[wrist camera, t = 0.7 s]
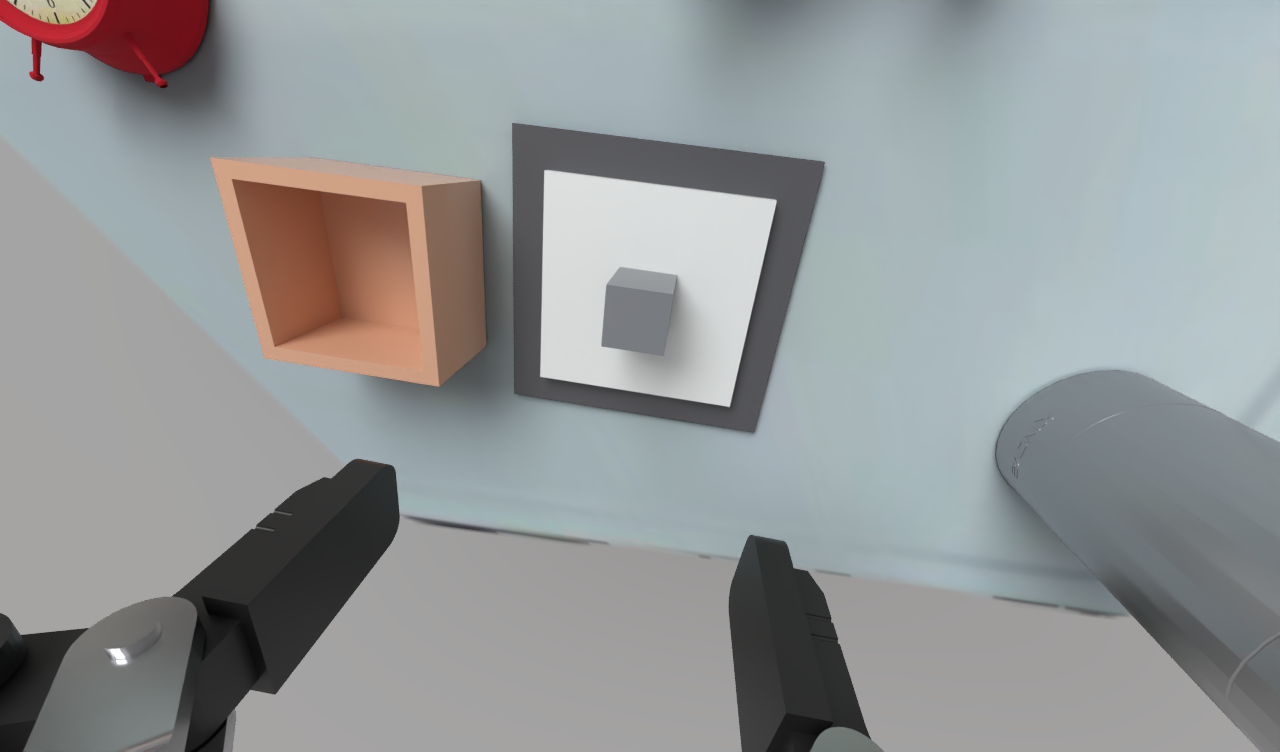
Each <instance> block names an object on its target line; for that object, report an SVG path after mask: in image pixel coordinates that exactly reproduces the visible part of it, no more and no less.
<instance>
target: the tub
mask: <svg viewBox="0 0 1280 752" xmlns="http://www.w3.org/2000/svg"><path fill="white" fill-rule="evenodd" d="M210 159H211V162H212V166H213V170H214V173H215V177H216V181H217V185H218V188H219V192H220V196H221V199H222V203H223V207H224V211H225V214H226V218H227V222H228V225H229V229H230V233H231V237H232V240H233V244H234V248H235V251H236V255H237V259H238V263H239V266H240V270H241V274H242V277H243V281H244V285H245V289H246V292H247V296H248V300H249V303H250V307H251V311H252V315H253V318H254V322H255V326H256V329H257V333H258V337H259V340H260V344H261V348H262V352H263V355H264V358H266V359H272V360H278V361H284V362H290V363H297V364H303V365H309V366H315V367H321V368H327V369H333V370H340V371H346V372H352V373H358V374H364V375H370V376H376V377H382V378H389V379H395V380H401V381H407V382H413V383H419V384H425V385H432V386H438V387H440V386H441V385H442V384H443V383H444V382H445V381H446V380H448V379H449V378H450V377H451V376H452V375H453V374H455V373H456V372H457V371H458V370H459V369H460V368H461V367H463V366H464V365H465V364H466V363H467V362H468V361H470V360H471V359H472V358H473V357H474V356H475V355H477V354H478V353H479V352H480V351H481V350H482V349H483V348H485V347H486V346H487V342H486V314H485V287H484V259H483V232H482V204H481V180H475V179H468V178H460V177H453V176H445V175H438V174H430V173H423V172H415V171H408V170H400V169H393V168H385V167H378V166H370V165H363V164H355V163H348V162H340V161H333V160H325V159H318V158H210Z"/></svg>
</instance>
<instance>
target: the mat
mask: <svg viewBox="0 0 1280 752" xmlns="http://www.w3.org/2000/svg"><path fill="white" fill-rule="evenodd" d="M512 148H513V274H514V394H520V395H526V396H532V397H538V398H544V399H550V400H557V401H563V402H569V403H575V404H581V405H587V406H594V407H600V408H606V409H612V410H618V411H624V412H631V413H637V414H643V415H649V416H655V417H661V418H668V419H674V420H680V421H686V422H692V423H698V424H705V425H711V426H717V427H723V428H729V429H735V430H742V431H748V432H754V430H755V426H756V422H757V418H758V414H759V411H760V407H761V403H762V399H763V395H764V392H765V388H766V384H767V380H768V376H769V373H770V369H771V365H772V361H773V357H774V354H775V350H776V346H777V342H778V338H779V335H780V331H781V327H782V323H783V319H784V316H785V312H786V308H787V304H788V300H789V297H790V293H791V289H792V285H793V281H794V278H795V274H796V270H797V266H798V262H799V259H800V255H801V251H802V247H803V243H804V240H805V236H806V232H807V228H808V224H809V221H810V217H811V213H812V209H813V205H814V202H815V198H816V194H817V190H818V186H819V183H820V179H821V175H822V171H823V167H824V164H825V162H822V161H814V160H805V159H797V158H789V157H781V156H773V155H765V154H757V153H749V152H741V151H733V150H725V149H717V148H709V147H701V146H693V145H685V144H677V143H669V142H661V141H653V140H645V139H637V138H629V137H621V136H613V135H605V134H597V133H589V132H581V131H573V130H565V129H557V128H549V127H541V126H533V125H525V124H516V123H512ZM544 170H553V171H561V172H568V173H576V174H584V175H591V176H599V177H607V178H614V179H622V180H630V181H637V182H645V183H653V184H660V185H668V186H676V187H683V188H691V189H699V190H706V191H714V192H722V193H729V194H737V195H745V196H752V197H760V198H768V199H775V200H777V203H776V207H775V211H774V216H773V220H772V224H771V229H770V233H769V238H768V242H767V246H766V251H765V255H764V259H763V264H762V268H761V272H760V277H759V281H758V286H757V290H756V294H755V299H754V303H753V307H752V312H751V316H750V320H749V325H748V329H747V334H746V338H745V342H744V347H743V351H742V355H741V360H740V364H739V368H738V373H737V377H736V382H735V386H734V390H733V395H732V399H731V403H730V407H727V406H721V405H714V404H708V403H702V402H696V401H689V400H683V399H677V398H670V397H664V396H658V395H652V394H645V393H639V392H633V391H627V390H620V389H614V388H608V387H601V386H595V385H589V384H583V383H576V382H570V381H564V380H557V379H551V378H545V377H540V363H541V312H542V262H543V211H544Z"/></svg>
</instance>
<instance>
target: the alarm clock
mask: <svg viewBox="0 0 1280 752" xmlns="http://www.w3.org/2000/svg"><path fill="white" fill-rule="evenodd" d="M208 7H209V0H0V20H1V21H2V22H4V23H5V24H7V25H8V26H10V27H11V28H13V29H15V30H17V31H18V32H20V33H22V34H24V35H27V36H29V37H32V54H33V71H32V72H30V73H29V75H30V77H31V78H32V79H34V80H36V81H42V80H44V76H43V75H41V74H40V57H41V45H42V42H43V43H45V44H48V45H51V46H54V47H58V48H64V49H70V50H79V51H84V52H87V53H88V54H90V55H91V56H93V57H94V58H96V59H98V60H100V61H101V62H103V63H105V64H107V65H110V66H112V67H114V68H117V69H120V70H123V71H127V72H131V73H137V74H143V76H144V79H145V81H147V82H155V83H156V85H157V86H159V87H160V88H166V87H167V86H168V83H167V82H166V80H165V79H161V78H160V76H159V75H160V74H165V73H169V72H172V71H174V70H176V69H178V68H180V67H181V66H183V65H184V64H185V63H186V62H188V61H189V59H190V58H191V57H192V56H193V55H194V54H195V52H196V50H197V49H198V47H199V45H200V43H201V41H202V38H203V35H204V32H205V29H206V23H207V17H208Z"/></svg>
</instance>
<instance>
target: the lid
mask: <svg viewBox="0 0 1280 752" xmlns="http://www.w3.org/2000/svg"><path fill="white" fill-rule="evenodd" d="M776 203H777V200H775V199H768V198H760V197H752V196H745V195H737V194H729V193H722V192H714V191H706V190H699V189H691V188H683V187H676V186H668V185H660V184H653V183H645V182H637V181H630V180H622V179H614V178H607V177H599V176H591V175H584V174H576V173H568V172H561V171H553V170H544V211H543V262H542V312H541V363H540V377H545V378H551V379H557V380H564V381H570V382H576V383H583V384H589V385H595V386H601V387H608V388H614V389H620V390H627V391H633V392H639V393H645V394H652V395H658V396H664V397H670V398H677V399H683V400H689V401H696V402H702V403H708V404H714V405H721V406H727V407H730V403H731V399H732V395H733V390H734V386H735V382H736V377H737V373H738V368H739V364H740V360H741V355H742V351H743V347H744V342H745V338H746V334H747V329H748V325H749V320H750V316H751V312H752V307H753V303H754V299H755V294H756V290H757V286H758V281H759V277H760V272H761V268H762V264H763V259H764V255H765V251H766V246H767V242H768V238H769V233H770V229H771V224H772V220H773V216H774V211H775V207H776Z"/></svg>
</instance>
